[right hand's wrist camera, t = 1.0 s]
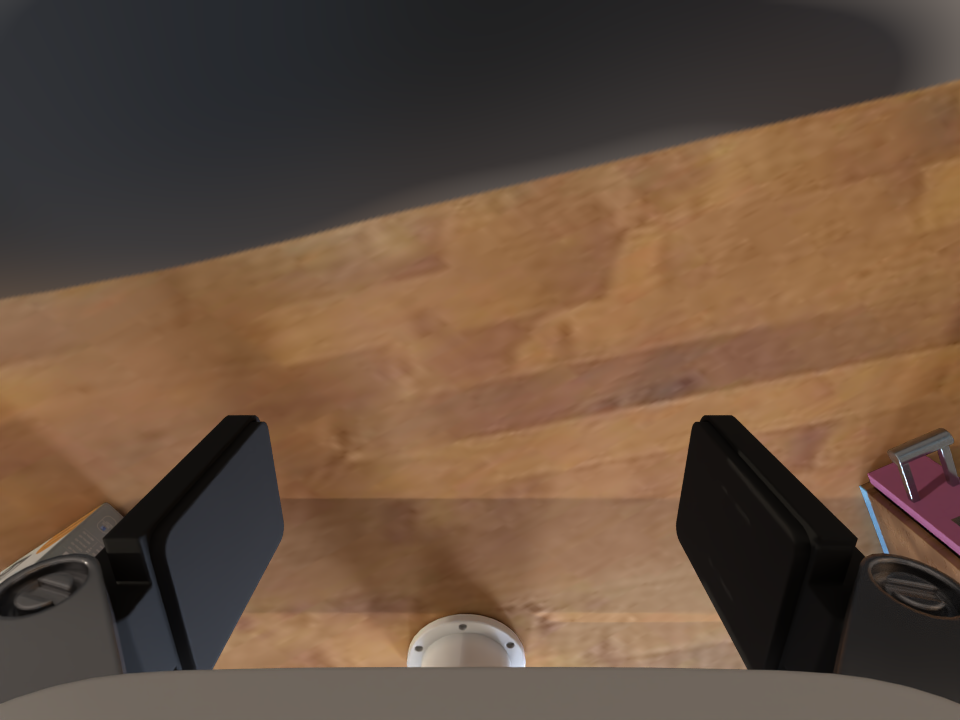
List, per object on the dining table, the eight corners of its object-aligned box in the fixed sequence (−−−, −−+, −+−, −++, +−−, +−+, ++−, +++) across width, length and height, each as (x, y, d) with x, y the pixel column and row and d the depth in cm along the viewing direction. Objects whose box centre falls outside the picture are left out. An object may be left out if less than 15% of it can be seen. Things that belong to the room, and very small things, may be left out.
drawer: (850, 426, 44) (945, 493, 35) (903, 402, 44) (1016, 465, 34) (909, 591, 51) (1003, 684, 42) (957, 573, 50) (1063, 663, 41)
